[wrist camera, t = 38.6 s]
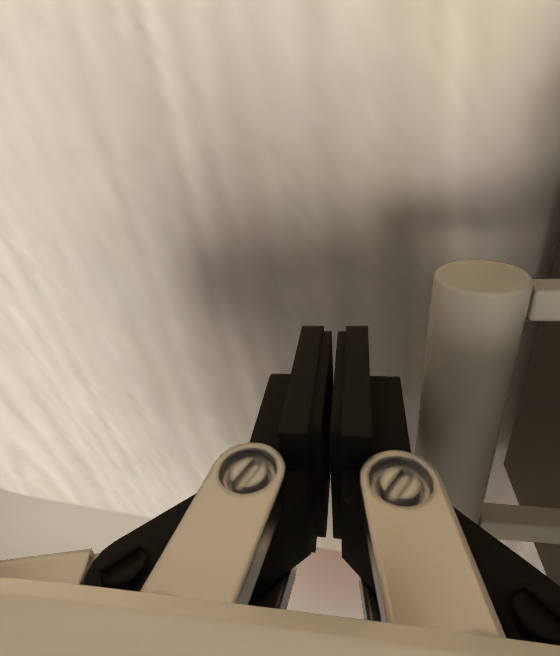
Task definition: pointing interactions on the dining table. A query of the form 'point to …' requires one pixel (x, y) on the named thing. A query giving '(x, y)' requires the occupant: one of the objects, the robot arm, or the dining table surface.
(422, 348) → the dining table surface
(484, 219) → the dining table surface
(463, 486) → the drawer
